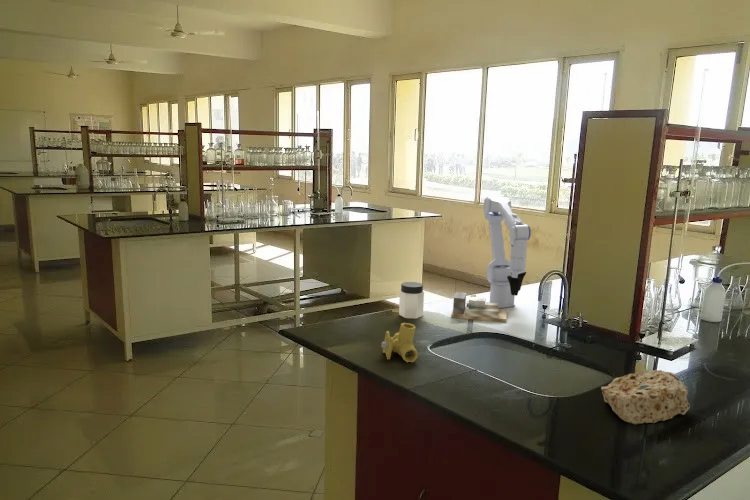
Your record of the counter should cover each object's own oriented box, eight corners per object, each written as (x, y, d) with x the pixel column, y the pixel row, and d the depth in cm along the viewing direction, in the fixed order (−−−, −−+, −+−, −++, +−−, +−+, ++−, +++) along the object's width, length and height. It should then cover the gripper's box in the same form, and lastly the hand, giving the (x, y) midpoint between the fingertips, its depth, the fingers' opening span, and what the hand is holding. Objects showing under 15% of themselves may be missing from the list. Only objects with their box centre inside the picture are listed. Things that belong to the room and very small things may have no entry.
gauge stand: (505, 313, 216) (507, 295, 214) (506, 322, 204) (507, 303, 203) (453, 308, 220) (454, 290, 219) (451, 317, 208) (452, 298, 207)
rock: (640, 435, 127) (632, 391, 127) (595, 420, 141) (589, 381, 141) (706, 413, 134) (700, 371, 134) (658, 401, 147) (652, 363, 147)
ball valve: (405, 349, 177) (375, 347, 174) (411, 319, 174) (381, 316, 172) (417, 367, 165) (385, 365, 162) (424, 335, 163) (391, 332, 160)
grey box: (484, 310, 214) (485, 297, 213) (484, 316, 206) (484, 303, 205) (468, 309, 215) (469, 296, 214) (467, 315, 207) (468, 302, 206)
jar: (423, 312, 214) (424, 282, 211) (422, 319, 206) (424, 287, 203) (399, 311, 214) (400, 281, 212) (398, 318, 206) (399, 286, 204)
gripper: (509, 252, 215) (507, 287, 217) (504, 259, 202) (501, 296, 204) (528, 254, 212) (526, 289, 215) (524, 261, 199) (521, 298, 202)
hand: (515, 292), depth 209 cm, fingers open, 7 cm apart
